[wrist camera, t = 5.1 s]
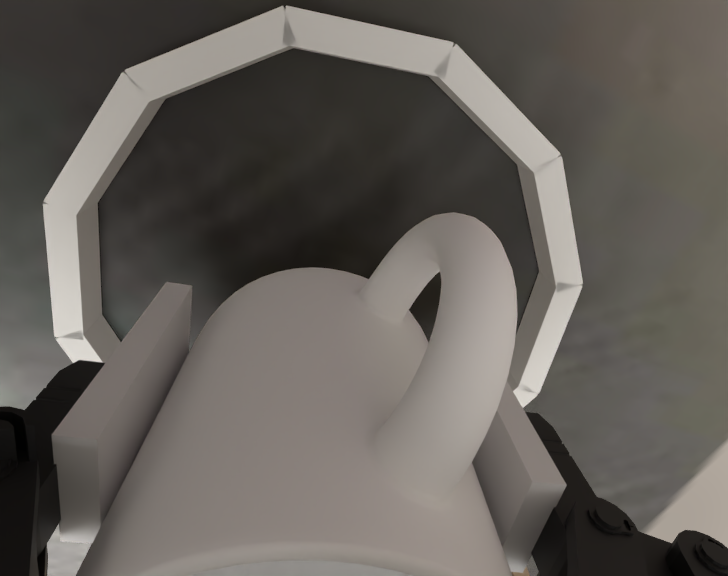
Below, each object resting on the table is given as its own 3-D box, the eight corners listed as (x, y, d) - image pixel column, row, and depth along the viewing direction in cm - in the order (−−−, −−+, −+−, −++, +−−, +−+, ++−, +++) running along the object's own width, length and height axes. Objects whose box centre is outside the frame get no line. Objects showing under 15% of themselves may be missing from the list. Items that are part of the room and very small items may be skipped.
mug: (319, 102, 13) (292, 174, 4) (541, 239, 16) (852, 493, 6) (161, 403, 17) (-37, 791, 8) (355, 480, 20) (377, 856, 10)
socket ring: (52, -41, 14) (20, -54, 13) (633, 86, 17) (662, 88, 15) (84, 451, 22) (66, 478, 20) (481, 485, 24) (490, 511, 23)
